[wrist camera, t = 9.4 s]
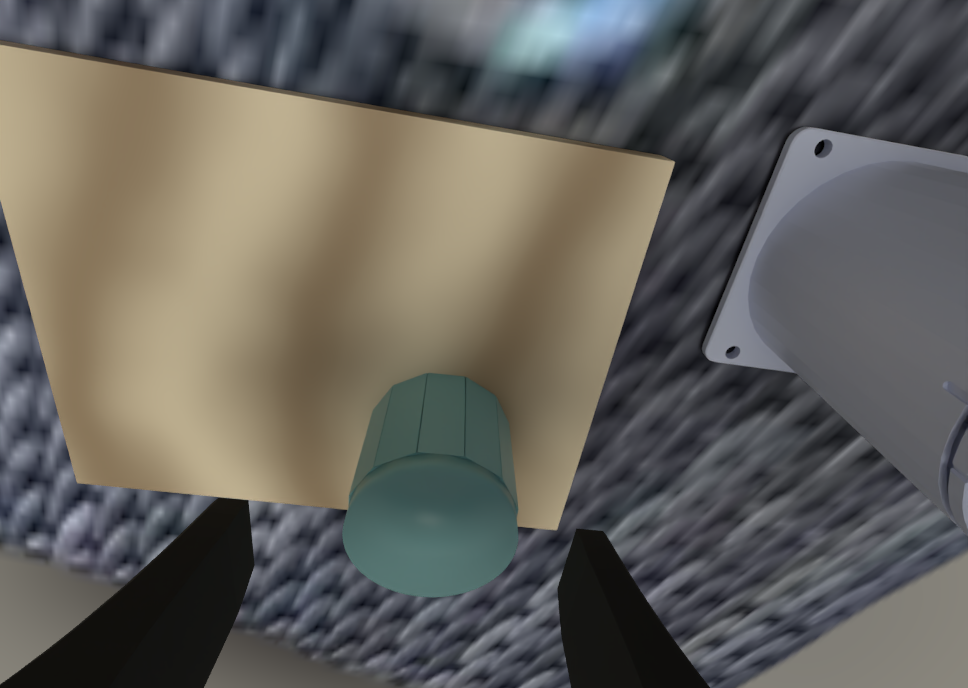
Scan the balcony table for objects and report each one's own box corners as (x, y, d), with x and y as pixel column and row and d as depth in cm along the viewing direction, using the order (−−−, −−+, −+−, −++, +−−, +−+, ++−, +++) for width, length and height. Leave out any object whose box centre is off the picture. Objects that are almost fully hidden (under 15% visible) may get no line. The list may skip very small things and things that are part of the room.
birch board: (661, 155, 16) (675, 161, 15) (552, 508, 23) (556, 530, 22) (-5, 39, 14) (-44, 36, 13) (96, 462, 21) (77, 483, 20)
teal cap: (517, 382, 18) (532, 482, 14) (496, 487, 21) (504, 601, 16) (374, 367, 18) (343, 466, 13) (369, 476, 20) (341, 591, 16)
